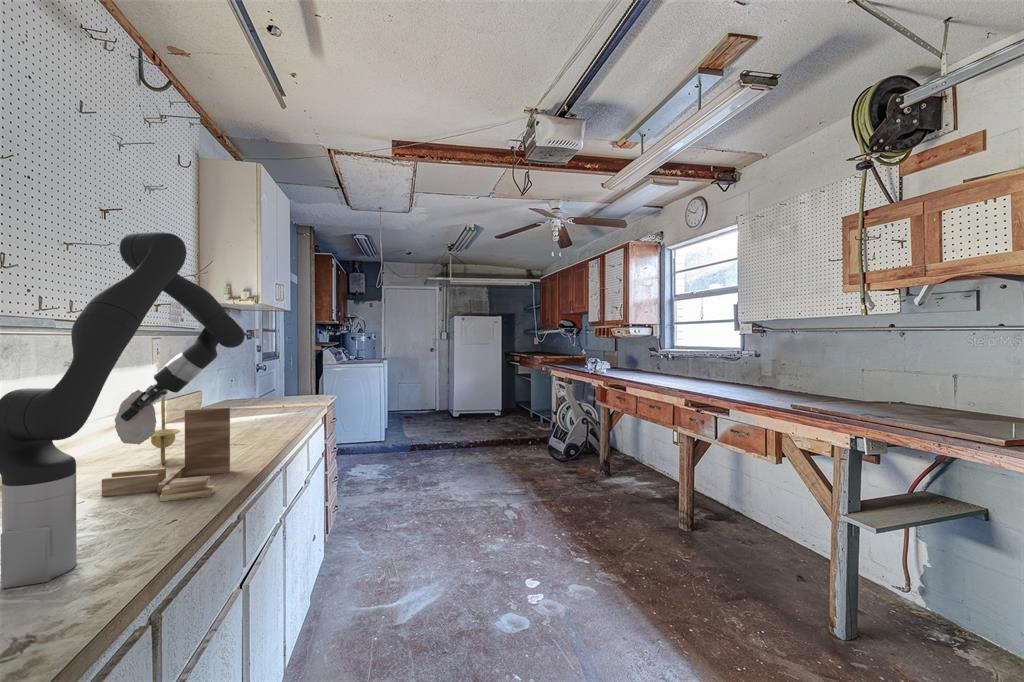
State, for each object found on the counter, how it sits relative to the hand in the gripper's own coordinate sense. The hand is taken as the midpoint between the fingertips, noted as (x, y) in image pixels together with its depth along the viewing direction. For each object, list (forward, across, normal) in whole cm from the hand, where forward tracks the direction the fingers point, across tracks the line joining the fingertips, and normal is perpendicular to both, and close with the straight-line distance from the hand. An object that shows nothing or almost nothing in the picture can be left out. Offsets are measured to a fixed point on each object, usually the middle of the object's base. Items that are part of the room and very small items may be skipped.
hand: (126, 417), depth 123 cm
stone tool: (+4, 0, +7) cm, 8 cm away
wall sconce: (+14, -28, +14) cm, 35 cm away
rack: (+3, -1, +25) cm, 26 cm away
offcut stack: (+2, +11, +26) cm, 28 cm away
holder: (+13, 0, +15) cm, 20 cm away
